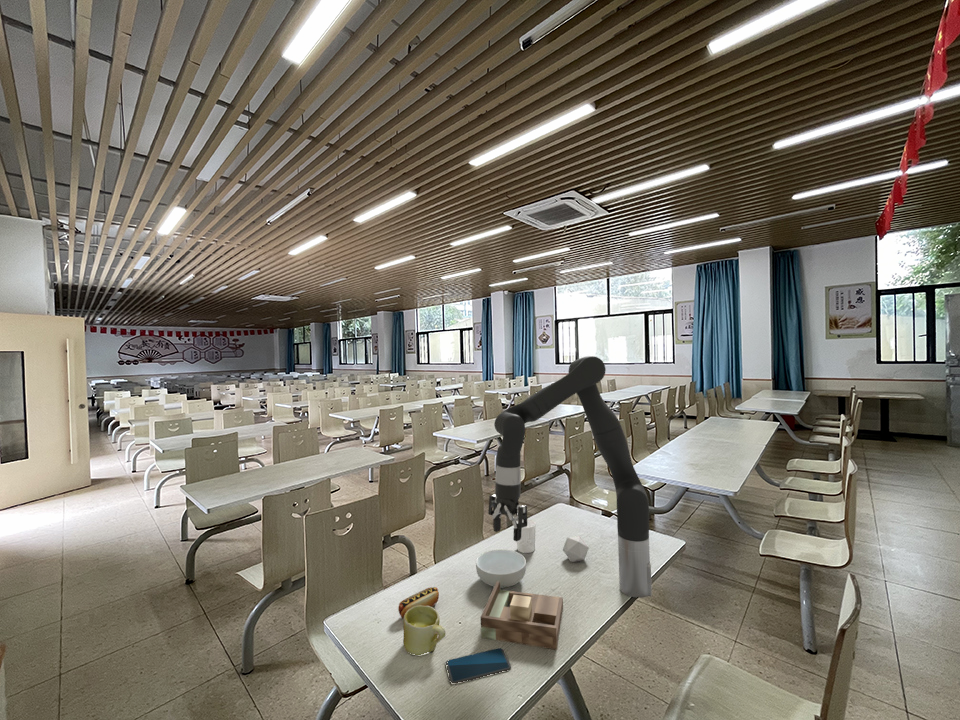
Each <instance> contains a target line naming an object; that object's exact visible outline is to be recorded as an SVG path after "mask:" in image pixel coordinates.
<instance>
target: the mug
mask: <svg viewBox="0 0 960 720" xmlns="http://www.w3.org/2000/svg"><path fill="white" fill-rule="evenodd" d="M402 619H403V621H402V622H403V624H402V625H403V628H402V629H403V639H402V641H403V647H404V650H405V651H407V652H406V653H408V652H409V653H408V654H410V653H411V654H410V655H412V654H415V655H421V654H424V653H427V652H431V651H432V652H434V650H435V649H436V647H437V644H438V643H439V642H440V641H441V640H443V638H444V637H445V636H446V634H447V633H446V630H445V628H444V627H443V626H442V625H441V624H440V615H439V612H438V611H437V610H436V609H435V608H434V606H432V607H430V606H421V605H420V606H415V607H413V608H410V609H409V610H407V612H406V613H405V615H404V618H402ZM445 638H446V637H445ZM432 652H431V653H432ZM415 655H414V656H415Z"/></svg>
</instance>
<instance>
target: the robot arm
mask: <svg viewBox="0 0 960 720" xmlns="http://www.w3.org/2000/svg"><path fill="white" fill-rule="evenodd" d="M605 375H606V364H605V362H603V360H602V359H601V358H600V357H598V356H595V355H586V356H583V357H581V358H578V359H575V360H573V361H572V362H570V364H569V367H568V373H567V374H565V376H563V377H561V378H559V379H558V380H557V381H554V382H552V383H550V384H549V385H547V386H545V387H542V388H541V389H539V390H538V391H537V392H535V393H533V394H532V395H531V396H529V397H527V398H526V399H525V400H523V401H522V402H520V403H517V404H515V405H513V406H511V407H509V408H507V409H504V410H503V411H502V412H501V413H499V414H498V415H497V416H496V418H495V420H494V429H495V430H496V432H497V433H498V434H500V435H501V436H502V440H501V441H502V442H501V445H499V446H498V448H497V451H496V469H495V478H494V479H495V481H494V482H495V486H494V487H495V488H494V494H492V495H489V499H488V511H487V512H488V515H489V516H491V518H492V519H493V523H492V524H493V525H492V526H493V532H494V533H495V532H496V533H497V532H500V531H501V530H502V529H501V527H502V518H501V517H502V516H506V517H507V518H509V521H510V522H511V523H512V525H513V536H512V537H513V541H514V542H516V541H519V540H520V539H521V532H522V528H523V527H526V526H527V520H528V505H526V504H524V505H521V504H520V502H519V499H520V498H521V494H522V493H521V492H522V491H521V487H522V486H521V485H522V473H521V452H522V447H523V444H524V439H525V435H526V434H525V433H526V424H527V423H532V422H536V421H538V420H539V419H541V418H542V417H544V416H546V415H547V414H548V413H549V412H551V411H552V410H554V409H555V408H556V407H557V406H559V405H560V404H562V403H564V402H565V401H566V400H568V399H569V398H570V397H573V396H574V395H575V394H577V397H578V399H579V400H580V402H581V406H582V407H583V410H584V414H585V417H586V420H587V422H588V425H589V427H590V430H591V434H592V437H593V439H594V441H595V445H596V447H597V449H598V451H599V453H600V455H601V457H602V458H603V460H604V461H605V463H606V465H607V467H608V469H609V472H610V474H611V477H612V480H613V483H614V489H615V494H616V520H617V526H616V527H617V545H618V547H617V548H618V550H617V553H618V575H619V576H618V579H619V581H618V582H619V583H618V584H619V590H620V591H621V592H622V593H623V594H624V595H626V596H628V597H631V598H635V599H636V598H637V597H638V596H639V597H638V598H637V599H641V598H646V597H647V598H648V597H653V593H652V592H653V589H652V566H651V565H652V564H651V555H650V553H651V552H650V506H649V505H650V503H649V499H648V494H647V491H646V489H645V487H644V485H643V484H642V481H641V480H640V477H639V476H638V474H637V471H636V469H635V467H634V464H633V461H632V458H631V453H630V449H629V445H628V441H627V439H626V435H625V432H624V429H623V427H622V425H621V422H620V420H619V418H618V417H617V415H616V414H615V412H614V411H613V410H612V409H611V408H610V406H609V405H608V404H607V403H606V402H605V401H604V399H603V398H602V396H601V394H600V391H599V388H598V384H599V383H600V382H601V381H603V379H604V377H605ZM516 521H517V522H518V523H517V522H516Z"/></svg>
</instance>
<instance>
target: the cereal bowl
mask: <svg viewBox="0 0 960 720" xmlns="http://www.w3.org/2000/svg"><path fill="white" fill-rule="evenodd" d="M475 569H476V574H477V576H478V577H479V579H480V580H481V581H482V582H483V583H484V584H487V585H488V586H491V587H494V586H495V584H496V582H497V581H498V582H500V589H502V588H509V587H512V586H515V585H516V584H518V583H519V582H521V581H522V579H523V578H524V576H525V574H526V571H527V570H526V569H527V560H526V558H525V557H524V555H523V554H521V553H520V552H517V551H516V550H511V549H504V548H503V549H491V550H488V551H485V552H483V553H481V554H480V555H479V556H478V557H477V558H476V560H475Z"/></svg>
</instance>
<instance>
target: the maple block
mask: <svg viewBox="0 0 960 720" xmlns="http://www.w3.org/2000/svg"><path fill="white" fill-rule="evenodd" d="M531 617H532V598H531V597H529V596H521V595H513V598H512V601H511V604H510V618H511V619H513V620H520V621H527V622H530V621H531Z"/></svg>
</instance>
